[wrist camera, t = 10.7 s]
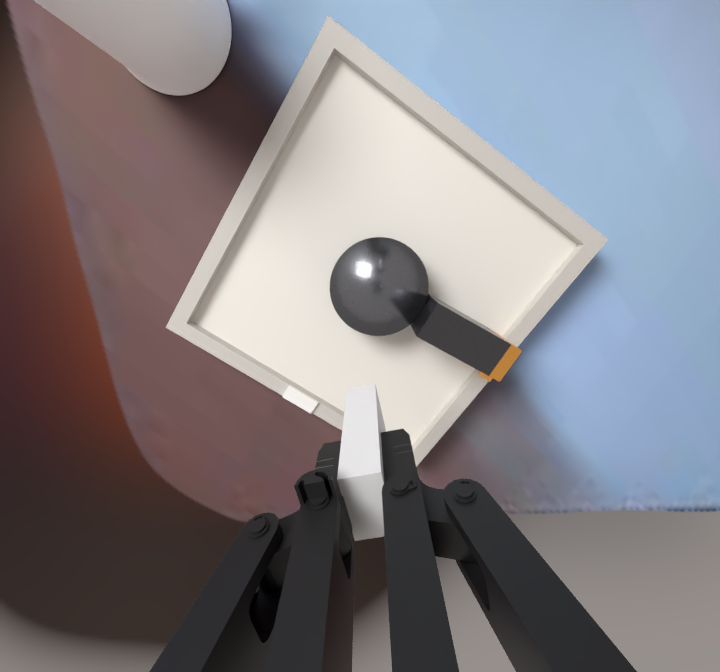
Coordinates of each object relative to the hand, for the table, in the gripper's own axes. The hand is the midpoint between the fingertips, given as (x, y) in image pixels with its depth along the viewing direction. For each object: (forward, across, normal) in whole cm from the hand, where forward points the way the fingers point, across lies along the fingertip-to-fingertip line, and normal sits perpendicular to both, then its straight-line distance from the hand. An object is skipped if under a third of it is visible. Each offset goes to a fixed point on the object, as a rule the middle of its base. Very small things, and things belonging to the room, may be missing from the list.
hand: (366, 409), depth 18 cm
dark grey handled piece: (+10, +4, +2) cm, 11 cm away
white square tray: (+13, +2, +4) cm, 14 cm away
